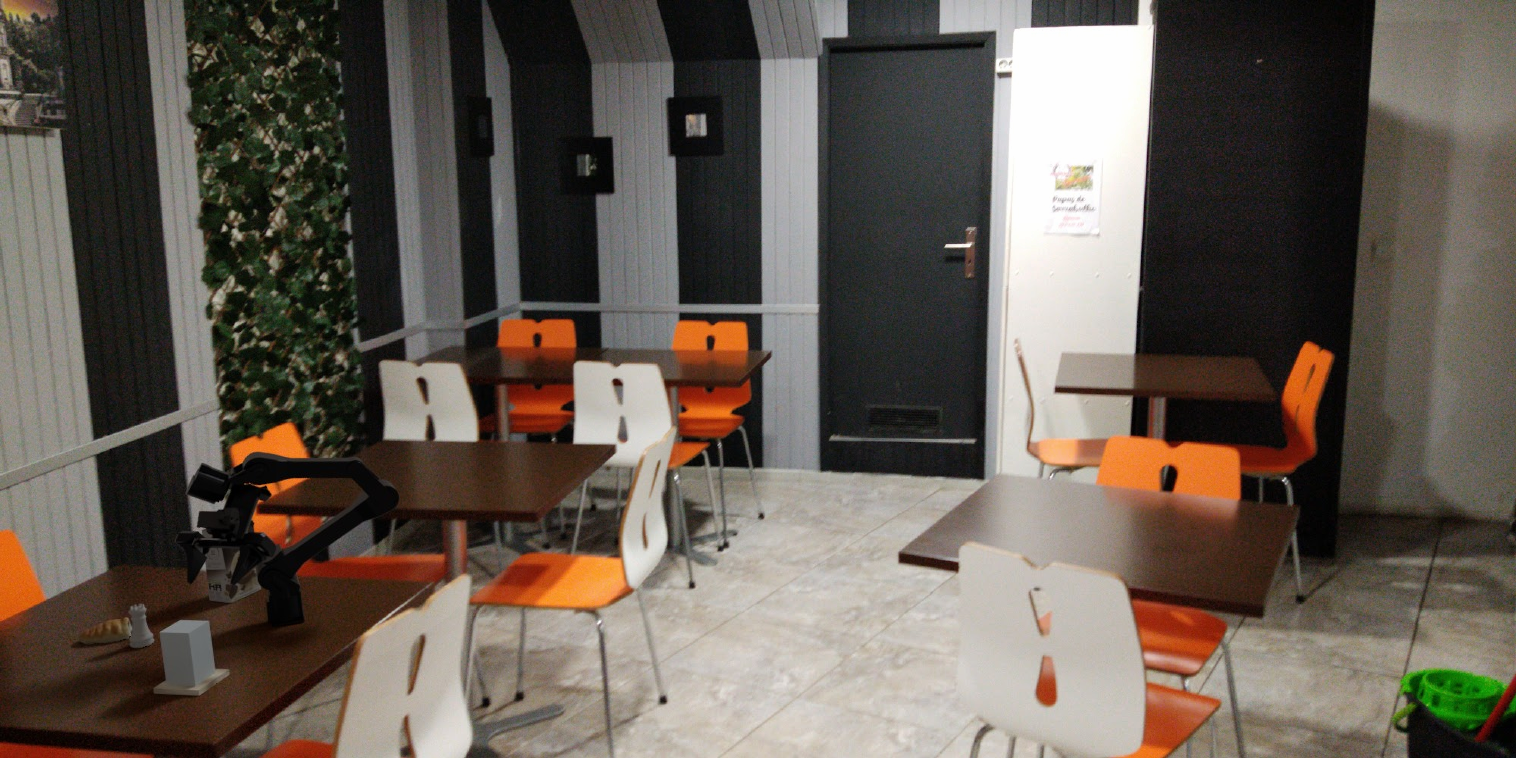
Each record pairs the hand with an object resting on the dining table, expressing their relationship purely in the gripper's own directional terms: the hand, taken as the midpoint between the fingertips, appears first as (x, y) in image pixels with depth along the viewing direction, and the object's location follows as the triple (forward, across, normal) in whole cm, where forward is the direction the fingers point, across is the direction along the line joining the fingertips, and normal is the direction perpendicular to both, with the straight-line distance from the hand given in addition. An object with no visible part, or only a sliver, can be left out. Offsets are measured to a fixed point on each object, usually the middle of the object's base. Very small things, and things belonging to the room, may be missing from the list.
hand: (210, 583), depth 233 cm
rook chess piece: (+9, -18, +11) cm, 23 cm away
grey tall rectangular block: (+19, +4, -2) cm, 20 cm away
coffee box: (-11, -16, +30) cm, 36 cm away
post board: (+20, +5, -1) cm, 21 cm away
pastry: (+7, -27, +13) cm, 31 cm away
